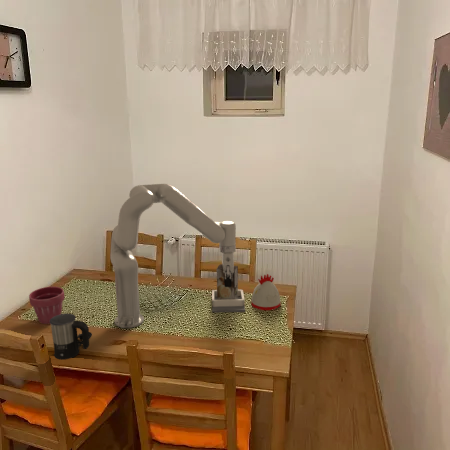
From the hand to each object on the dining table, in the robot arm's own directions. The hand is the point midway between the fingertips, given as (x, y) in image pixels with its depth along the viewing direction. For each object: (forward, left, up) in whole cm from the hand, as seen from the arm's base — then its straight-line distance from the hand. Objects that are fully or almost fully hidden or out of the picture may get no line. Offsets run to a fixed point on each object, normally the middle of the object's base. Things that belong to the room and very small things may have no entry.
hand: (227, 282), depth 211 cm
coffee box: (0, 0, -8) cm, 8 cm away
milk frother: (-38, +62, -10) cm, 74 cm away
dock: (0, 0, -10) cm, 10 cm away
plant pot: (-13, +80, -10) cm, 82 cm away
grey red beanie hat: (-2, -18, -11) cm, 21 cm away
